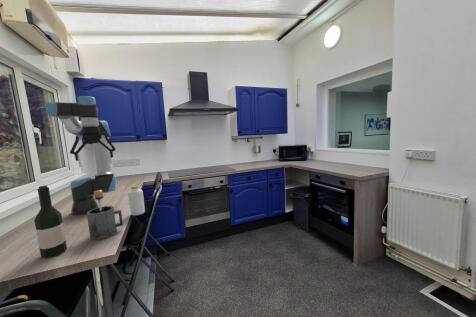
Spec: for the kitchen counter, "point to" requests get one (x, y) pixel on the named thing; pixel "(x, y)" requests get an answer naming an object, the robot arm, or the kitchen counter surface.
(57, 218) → the wine bottle
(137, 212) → the white rounded cylinder
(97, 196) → the plunger
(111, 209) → the dark grey mug
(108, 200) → the kitchen counter surface
